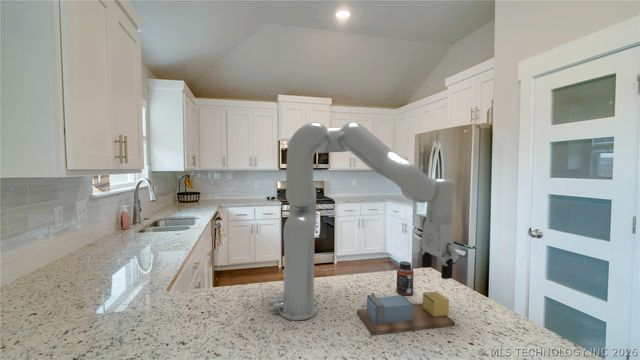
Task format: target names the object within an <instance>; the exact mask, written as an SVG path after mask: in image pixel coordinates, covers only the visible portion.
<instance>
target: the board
mask: <svg viewBox="0 0 640 360" xmlns="http://www.w3.org/2000/svg"><path fill="white" fill-rule="evenodd" d="M412 304H413V318H412V320H411V321H401V322H392V323H384V325H380V326H377V325H376V324H374V323H373V322H372V320H371V319H370V318H369V316H368V315H367V308H360V309H359V308H358V309H356V314H357V315H358V317H359V319H361V322H363V324H364V325H365V327H366V329H367V330H368V331H369V333H370V334H371V336H381V335H388V334H389V335H390V334H396V333H405V332H412V331H413V332H414V331H421V330H429V329H439V328H447V327H454V326H455V325H456V322H455V321H454V320H453V319H452V318H451V317H449V315H446V316H436V317H434V316H432V315H431V314H430V313H429V312H428V311H426V310H425V309H424V308H423V302H422V303H421V302H420V303H412Z"/></svg>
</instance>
